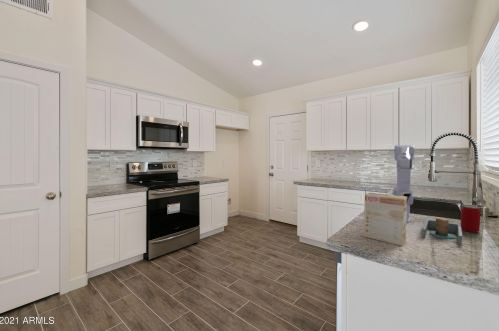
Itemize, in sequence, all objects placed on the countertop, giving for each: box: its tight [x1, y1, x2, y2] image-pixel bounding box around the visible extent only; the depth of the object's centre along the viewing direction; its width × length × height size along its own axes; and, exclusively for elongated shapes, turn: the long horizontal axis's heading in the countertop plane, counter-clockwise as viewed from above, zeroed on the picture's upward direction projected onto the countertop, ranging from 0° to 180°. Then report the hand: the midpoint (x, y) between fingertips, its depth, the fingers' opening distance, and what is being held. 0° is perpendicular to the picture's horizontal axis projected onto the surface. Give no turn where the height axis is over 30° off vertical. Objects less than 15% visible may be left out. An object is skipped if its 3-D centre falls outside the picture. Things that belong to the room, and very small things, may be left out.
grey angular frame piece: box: [421, 218, 463, 246], centre depth 106 cm, size 20×13×4 cm, turn 139°
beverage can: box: [460, 204, 482, 234], centre depth 112 cm, size 7×7×12 cm
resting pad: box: [429, 230, 456, 240], centre depth 106 cm, size 9×9×1 cm
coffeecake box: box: [363, 192, 407, 247], centre depth 101 cm, size 15×7×20 cm, turn 45°
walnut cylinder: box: [435, 217, 450, 236], centre depth 106 cm, size 4×4×7 cm
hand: (402, 208), depth 118 cm, fingers open, 7 cm apart
